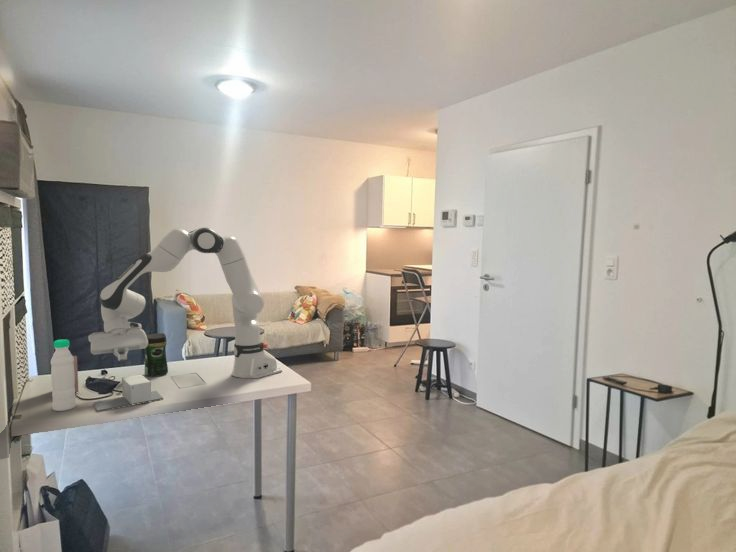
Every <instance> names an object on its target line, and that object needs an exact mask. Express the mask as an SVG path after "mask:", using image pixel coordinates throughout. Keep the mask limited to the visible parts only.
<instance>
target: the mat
mask: <svg viewBox="0 0 736 552" xmlns="http://www.w3.org/2000/svg"><path fill="white" fill-rule="evenodd" d="M160 399H162V400H164V397H163V396H162V395H161V394H160V393H159V392H158V391H157V390H153V391H151V400H150V401H152V402H156V401H155V400H157V401H161V400H160ZM145 402H147V403H150V402H149V401H145ZM92 403H94V404H93V405H95V406H94V407H96V408H95V410H96V409H97V410H96V412H97V411H98V412H97V413H99V411H100V412H104V410H105V411H109V410H108V409H110V410H113V409H112V408H115V409H119V408H118V407H120V408H124V407H123V406H126V407H129V406H128V405H131V406H133V405H132V404H130V403H129V402H128V401H127V400H126V399H125V398H124V397H123V396H119V397H114V398H110V399H103V400H98V401H94V402H92ZM140 403H141V404H144V403H143V402H140ZM135 404H136V405H138V404H137V403H135Z"/></svg>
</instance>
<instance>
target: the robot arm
mask: <svg viewBox="0 0 736 552" xmlns="http://www.w3.org/2000/svg"><path fill="white" fill-rule="evenodd" d="M239 242H240V241H239V240H238V239H237V238H236V237H235V236H233V235H225V236H221V235H220V234H219V233H217V231H215V230H214V229H212V228H210V227H208V226H200V227H198V228H197V229H194V230H192V231H189V232H188V231H186V230H185V229H183V228H173V229H172V230H170V232H168V233H167V234H166V235H165V236H164V237H163V238H162V239H161V240H160V242H159V243H158V244H157V245H156V246H155V248H153V249H152V250H151V251H149V252H148V253H147V252H146V253H143V254H141V255H139V256H138V257H137V258H136V259H135V260H134V261H132V262H131V264H129V265H128V266H127V267H126V268H125V269H124V270H123V271H122V272H121V273H120V274H119V275H118V276H117V277H116V278H115V279H113V280H112V281H111V282H110V283H108V284H106V285H105V287H103V288H102V290H101V291H100V293H99V302H100V306H101V307H100V311H101V312H100V313H101V319H102V321H103V329H104V330H103V331H98V332H92V333H90V334H89V335H88V337H87V339H88V342H89V343H90V354H92V355H94V356H95V355H103V354H111V353H112V354H113V355H114V356H115V357H116V358H117V361H119V362H120V361H126V360H128V353H129V351H136V350H143V349H145V348H146V347H147V345H148V339H147V336H146V335H147V333H146V331H144V329H142V328H143V327H142V324H141V323H139V322H131V321H129V320H132V319H134V318H136V317H138V316H140V315H142V313H143V312H144V311H145V309H146V306H147V301H146V297H145V296H143V295H142V294H140V293H137V292H135V291H133V290H130V289H128V288H129V287H130V286H131V285H132V284H133V283H134V282H135V281H136V280H137V279H138V278H139V277H140V276H141V275H143V274H145V273H150V272H152V273H153V272H155V273H156V272H157V273H167V272H171V271H173V270H174V269H176V267H178V265H179V264H180V263H181V261H182V260H183V259H184V257H185V255H187V254H188V253H189V252H190V251H193V250H195V251H197V252H199V253H202V254H215V255H216V256H217V258H218V260H219V264H220V266H221V270H222V273H223V275H224V278H225V280H226V283H227V285H228V287H229V289H230V291H231V292H232V295H231V303H232V312H233V313H232V314H233V315H232V316H233V322H234V344H233V345H234V348H233V354H234V355H233V356H234V361H233V362H234V363H233V368H232V372H231V376H233V377H236V378H242V379H244V378H245V379H247V378H248V379H259V378H264V377H267V376H271V375H275V374H278V373H282V372H283V369H282V367H281V366H279V365H278V364H277V363H278V362H277V359H276V358H275V356H274V355H272V354H271V353H269V352H268V351H266V350H265V349H267V348H268V347H269V344H267V343H265V342H262V341H261V326H260V325H261V324H260V321H259V313H261V312H262V311H263V308H264V305H265V302H264V299H263V296H262V295H261V292H260V290H259V287H258V285H257V283H256V281H255V279H254V277H253V274H252V273H251V270H250V268H249V264H248V262H247V258H246V257H245V253H244V251H243V248H242V246H241V245H240V243H239ZM121 352H123V354H121Z"/></svg>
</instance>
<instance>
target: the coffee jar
mask: <svg viewBox="0 0 736 552" xmlns="http://www.w3.org/2000/svg"><path fill="white" fill-rule="evenodd" d="M146 336H147V339H148V345H147V347H146V348H145V355H144V357H145V359H144V360H145V361H144V375H145V376H146V377H157V376H158V375H159V376H162V375H166V374H168V372H169V367H168V366H169V365H168V361H167V353H166V347H167V342H168V340H167V336H166V333H163V332H160V333H157V332H156V333H150V334H146ZM159 376H158V377H159Z"/></svg>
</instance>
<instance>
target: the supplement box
mask: <svg viewBox="0 0 736 552" xmlns="http://www.w3.org/2000/svg"><path fill="white" fill-rule="evenodd" d="M121 389H122V390H121V393H122V394H121V395H122V396H121V397H124V398H125V399H126V400H127V401H128V402H129V403H130V404H135V403H140V402H145V401H150V400H151V392H152V381H150V380H149V379H148V378H146V377H145V376H144V375H142V374H136V375H129V376H124V377H121Z"/></svg>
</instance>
